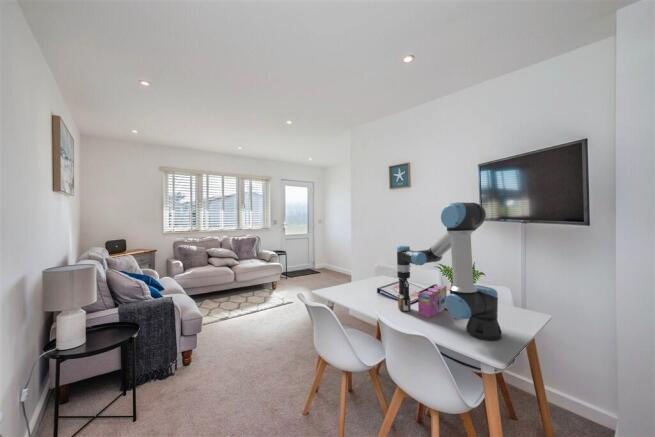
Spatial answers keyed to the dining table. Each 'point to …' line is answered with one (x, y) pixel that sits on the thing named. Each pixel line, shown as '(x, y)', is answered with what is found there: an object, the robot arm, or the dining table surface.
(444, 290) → the gum box
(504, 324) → the dining table surface
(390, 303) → the dining table surface
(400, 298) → the walnut block
